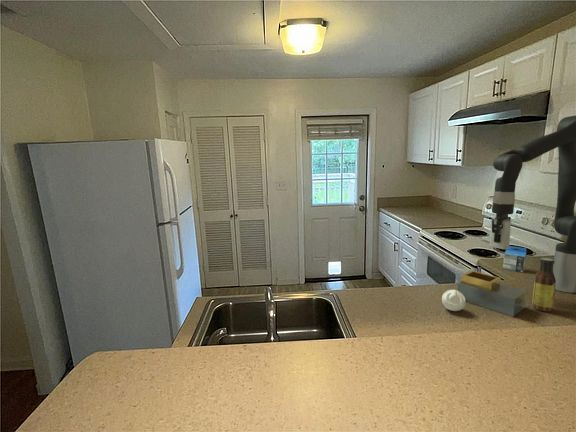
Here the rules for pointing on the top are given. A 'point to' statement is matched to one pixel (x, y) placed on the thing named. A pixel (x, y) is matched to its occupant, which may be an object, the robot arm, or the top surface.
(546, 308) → the sauce bottle
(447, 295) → the white swirled ball
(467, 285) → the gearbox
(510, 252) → the label tape box
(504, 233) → the skincare box
